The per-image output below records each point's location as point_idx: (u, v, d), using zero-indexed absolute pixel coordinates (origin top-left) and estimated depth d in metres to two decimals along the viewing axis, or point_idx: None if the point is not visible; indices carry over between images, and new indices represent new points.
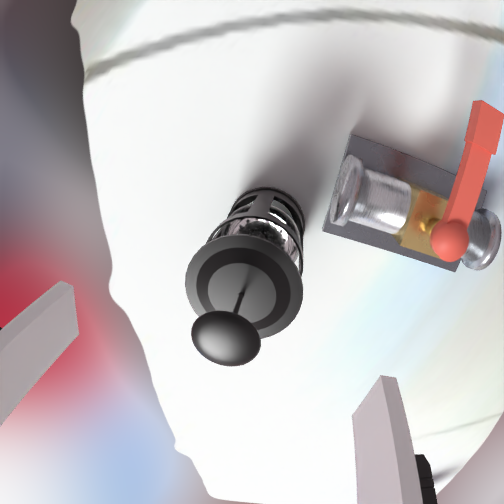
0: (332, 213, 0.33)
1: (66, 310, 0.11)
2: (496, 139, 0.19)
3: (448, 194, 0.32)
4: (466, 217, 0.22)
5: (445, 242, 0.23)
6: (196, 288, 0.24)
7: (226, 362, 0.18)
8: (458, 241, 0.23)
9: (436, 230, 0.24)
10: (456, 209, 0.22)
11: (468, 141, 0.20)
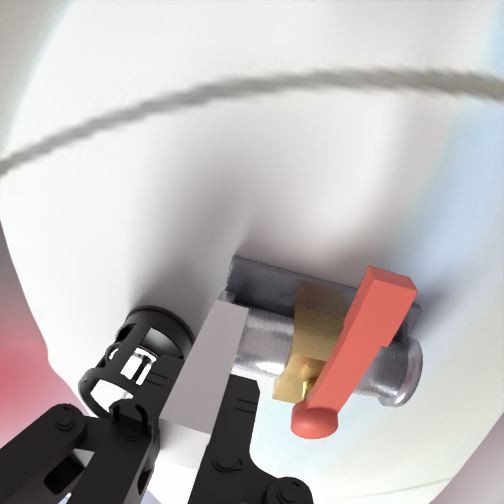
0: None
1: None
2: (393, 328, 0.16)
3: None
4: (335, 405, 0.20)
5: (303, 426, 0.21)
6: None
7: None
8: (322, 426, 0.20)
9: (294, 412, 0.21)
10: (318, 400, 0.20)
11: (345, 328, 0.18)
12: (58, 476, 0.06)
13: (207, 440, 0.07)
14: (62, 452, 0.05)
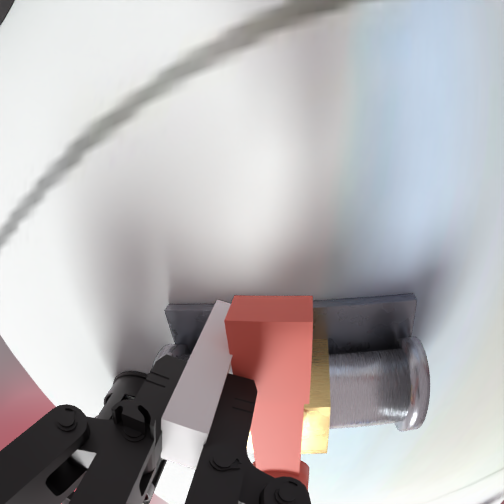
0: None
1: None
2: (302, 380, 0.10)
3: (342, 334, 0.23)
4: (289, 467, 0.14)
5: None
6: None
7: None
8: None
9: None
10: (263, 463, 0.14)
11: None
12: (60, 477, 0.06)
13: (204, 439, 0.07)
14: (64, 453, 0.05)
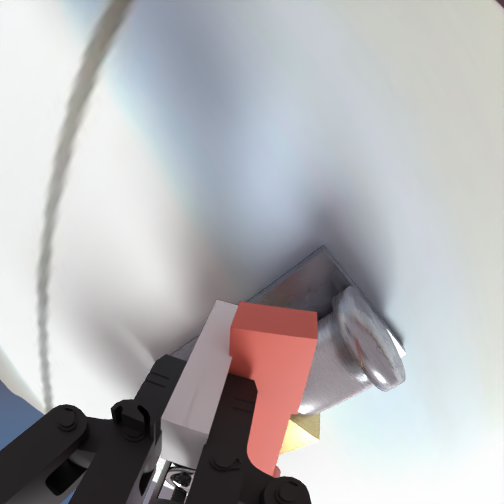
0: None
1: None
2: (295, 392, 0.11)
3: None
4: (263, 470, 0.14)
5: None
6: None
7: None
8: None
9: None
10: None
11: None
12: (59, 477, 0.06)
13: (204, 439, 0.07)
14: (64, 453, 0.05)
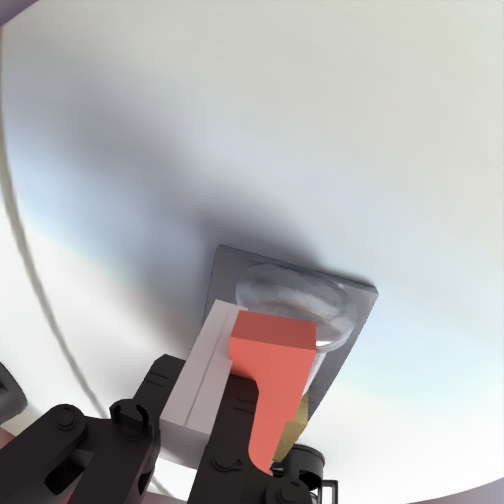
0: None
1: None
2: (291, 400, 0.11)
3: None
4: None
5: None
6: None
7: None
8: None
9: None
10: None
11: None
12: (58, 476, 0.06)
13: (206, 440, 0.07)
14: (63, 452, 0.05)
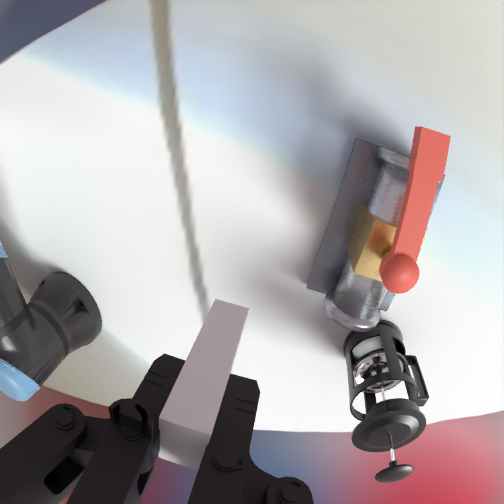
0: None
1: None
2: (442, 165, 0.21)
3: (363, 192, 0.35)
4: (414, 249, 0.25)
5: (392, 276, 0.26)
6: (379, 448, 0.30)
7: (408, 474, 0.23)
8: (407, 273, 0.25)
9: (383, 265, 0.26)
10: (401, 243, 0.25)
11: (410, 172, 0.23)
12: (58, 476, 0.06)
13: (207, 440, 0.07)
14: (62, 452, 0.05)
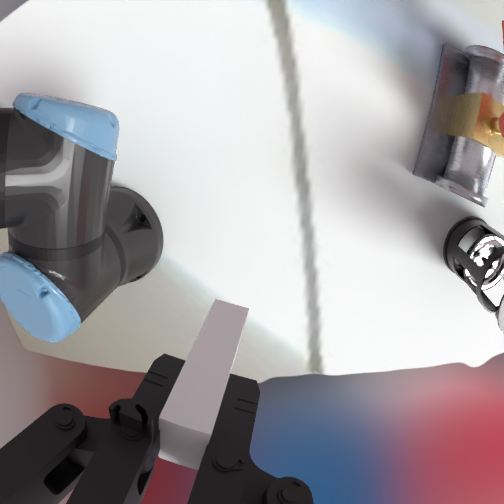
0: None
1: None
2: None
3: (455, 86, 0.30)
4: None
5: None
6: None
7: None
8: None
9: (503, 118, 0.21)
10: None
11: None
12: (58, 476, 0.06)
13: (207, 440, 0.07)
14: (62, 452, 0.05)
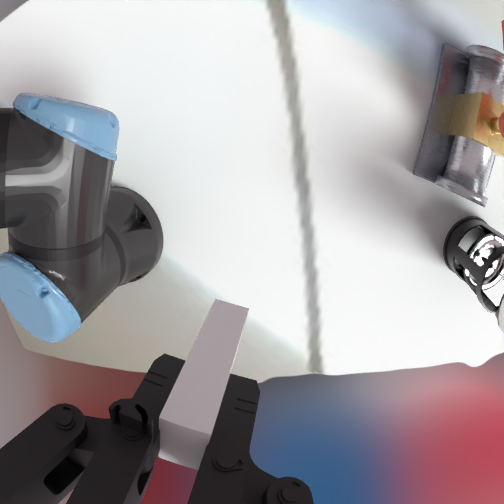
0: None
1: None
2: None
3: (455, 86, 0.30)
4: None
5: None
6: None
7: None
8: None
9: (503, 118, 0.21)
10: None
11: None
12: (58, 476, 0.06)
13: (207, 440, 0.07)
14: (62, 452, 0.05)
